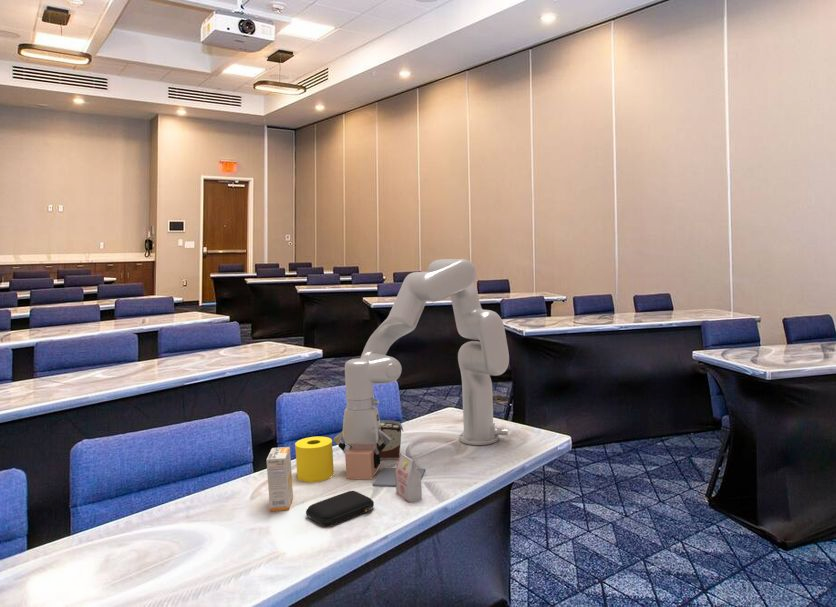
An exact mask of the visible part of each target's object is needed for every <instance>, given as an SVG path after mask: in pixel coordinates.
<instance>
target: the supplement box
mask: <svg viewBox="0 0 836 607" xmlns="http://www.w3.org/2000/svg"><path fill="white" fill-rule="evenodd" d="M291 456H292V454H291V447H290V446H287V447H285V446H284V447H282V446H281V447H272V448H271V449H270V452H269V453H268V456H267V458H266V461H265V462H266V472H267V486H268V502H269V511H270V512H279V511H288V510H290V508H291V505H292V501H293V497H294V491H293V490H294V489H293V475H292V474H293V473H292V459H291V458H292V457H291Z"/></svg>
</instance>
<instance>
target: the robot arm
mask: <svg viewBox="0 0 836 607" xmlns="http://www.w3.org/2000/svg"><path fill="white" fill-rule="evenodd" d="M476 270H477V269H476V267H475V265H474V264H473V262H472V261H470V260H468V259H465V258H440V259H436V260H434V261H431V263H430V264H429V265H428V268H427V271H415V272H414V271H413V272H411V273H408V274H407V275H406V276H405V277H404V280H403V282H402V284H401V287H400V289H399V291H398V293H397V296H396V298H395V300H394V302H393V305H392V308H391V310H390V311H389V314H388V316H387V317H386V319H384V321H383V322H382V323H381V324H379V325H378V327H377V328H376V329H375V330H374V331H373V333H371V335H370V336H369V338H368V340H367V342H366V343H365V346H364V347H363V351H362V353H361V355H360V358H352V359H348V360H347V361H346V362H345V364H344V379H345V383H344V384H345V397H346V398H345V399H346V407H345V409H344V412H343V418H342V419H343V421H342V431H340V432H339V433H338V434H337V435H336V436H335V437H334V438H333V441H334V442H335V444H336V445H338V448H340V450H342V452H343V453H344V454H345V453H346V452H347V451H348V450H349V449H350V447H351V446H352V445H371V446H372V448H373V450H374V452H375V454H374V468H377V467H378V466H379V464H380V465H381V463H382V462H381V461H382V459H381V457H380V452H381V451H382V450H383V449H384V448H385V446H386V445H387V444H388V443H389V442H390V440H391V438H390V437H389V436H387V435H386V434H385V433H384V432H382V431H381V426H380V421H381V419H380V414H379V410H378V407H377V406H376V405H379V404H380V400H379V399H376V398H375V396H374V384H390V383H395V381H397V380H398V379H399V378H400V377H401V374H402V369H403V368H402V365H401V363H400V361H399V360H398V359H396V358H395V357H393V356H389V355H387V353H388V351H389V349H390V347H391V346H392V345H393V344H394V343H395V342H396V341H398V340H399V339H400V338H402V337H403V336H406V335H407V334H409V333H411V332H413V331H414V330H415V329H416V327H417V325H418V322H419V320H420V318H421V315H422V313H423V311H424V308H425V306H426V304H427V302H432V303H435V302H440V301H442V300H445V299H447V298H450V302H451V305H452V309H453V315H454V320H455V324H456V325H455V326H456V329H457V332H458V335H460V336H461V337H463V338H465V339H468V340H470V341H467V342H465V343H464V344H462V345H461V346H460V348H459V349H458V352H457V361H458V367H459V370H460V375H461V376H460V377H461V387H462V391H461V393H462V414H463V415H462V420H463V421H462V422H463V432H461V433H460V434H459V435H458V440H459V442H461V443H463V444H466V445H472V446H487V445H491V444H494V443H497V441H499V437H500V436H508V435H509V433H508V432H509V429H508V428H505V427H497V426H495V422H494V407H493V406H494V405H493V403H494V402H493V401H494V400H493V382H492V378H491V376H501V375H502V374H504V373H505V372H506V371H507V370H508V367H509V363H510V354H509V346H508V341H507V335H506V329H505V325H504V322H503V319H502V318H501V316H500V315H499V314H498V313H497V312H496V311H493V310H490V309H483V308H482V304H481V300H480V298H479V297H480V296H479V294H478V290H477V287H476V285H475V284H474V282H475V280H476V276H477V271H476ZM499 435H500V436H499ZM381 438H382V439H383V440H384V442H383V443H382V444H381V445H379V443H378V440H380V439H381Z"/></svg>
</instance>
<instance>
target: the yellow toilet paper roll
mask: <svg viewBox="0 0 836 607" xmlns="http://www.w3.org/2000/svg"><path fill="white" fill-rule="evenodd" d="M294 445H295V459H296V460H295V462H296V475H297V478H296V479H297V480H298V479H299V481H300V480H301V481H300V482H303V481H305V482H304V483H318V482H323V481H327V480H329V479H331V478H332V477H334V475H335V474H334V473H335V470H334V455H333V454H334V453H333V452H334V451H333V440H332V438H330V437H327V436H311V437H310V436H309V437H305V438H301V439H299V440H297V441H296V442H295V444H294ZM333 474H334V475H333ZM331 476H332V477H331ZM330 477H331V478H330ZM328 478H329V479H328ZM326 479H327V480H326Z"/></svg>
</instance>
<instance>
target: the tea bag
mask: <svg viewBox="0 0 836 607" xmlns="http://www.w3.org/2000/svg"><path fill="white" fill-rule="evenodd" d="M396 464H397V465H396V467H395V468H396V470H395V475H396V487H395V489H396V490H395V491H396V492H395V493H396V494H397V495H398V496H400V497H401V498H402V499H404V500H405V501H406V502H408V503H412V502H416V501H420V500H423V494H422V493H423V492H422V491H423V490H422V489H423V487H422V479H421V475H420V473H419V471H418V469H417V468H418V467H417V466H416V463H415V460H414V459H412V458H410V457H408V456H407V455H405V454H403V453H400V458H399V459H398V462H397V463H396Z"/></svg>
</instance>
